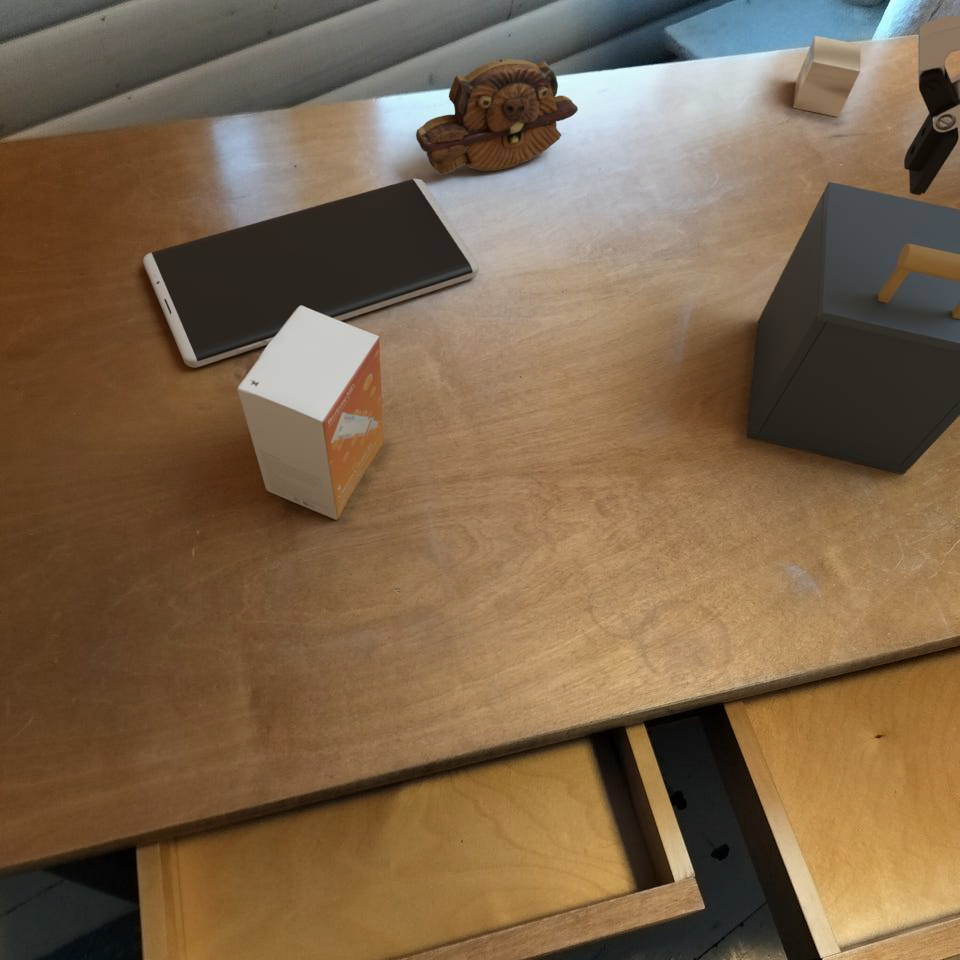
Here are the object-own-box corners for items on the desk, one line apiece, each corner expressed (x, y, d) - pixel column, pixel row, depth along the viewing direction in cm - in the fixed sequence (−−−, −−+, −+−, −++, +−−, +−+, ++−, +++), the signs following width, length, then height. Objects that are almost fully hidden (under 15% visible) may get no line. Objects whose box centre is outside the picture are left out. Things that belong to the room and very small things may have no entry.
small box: (338, 523, 64) (322, 424, 53) (264, 491, 65) (233, 387, 54) (387, 442, 68) (381, 334, 57) (316, 413, 69) (297, 301, 58)
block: (795, 81, 97) (814, 35, 92) (839, 90, 96) (861, 44, 91) (793, 108, 94) (812, 61, 89) (838, 117, 94) (860, 71, 89)
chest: (904, 474, 69) (1012, 359, 57) (745, 436, 70) (817, 315, 58) (902, 354, 76) (998, 227, 64) (757, 321, 77) (823, 190, 65)
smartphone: (481, 279, 78) (482, 266, 76) (189, 375, 70) (184, 361, 68) (420, 188, 83) (420, 173, 82) (144, 267, 76) (139, 252, 74)
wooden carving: (432, 199, 83) (435, 108, 74) (412, 170, 85) (412, 78, 76) (577, 156, 87) (594, 65, 79) (554, 129, 89) (569, 38, 81)
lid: (1013, 364, 57) (1067, 308, 52) (817, 320, 57) (852, 261, 53) (999, 227, 64) (1044, 167, 59) (824, 189, 64) (855, 127, 60)
